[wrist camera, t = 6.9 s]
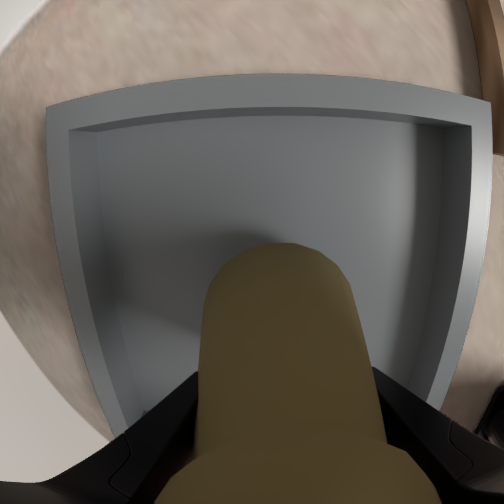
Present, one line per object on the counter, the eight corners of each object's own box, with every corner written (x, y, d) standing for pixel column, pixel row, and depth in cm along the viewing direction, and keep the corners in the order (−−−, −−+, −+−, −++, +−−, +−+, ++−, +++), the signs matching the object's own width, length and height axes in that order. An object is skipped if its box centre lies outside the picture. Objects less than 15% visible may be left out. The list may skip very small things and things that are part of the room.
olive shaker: (181, 342, 13) (85, 596, 3) (244, 213, 11) (134, 577, 1) (305, 392, 14) (332, 627, 3) (382, 284, 12) (549, 527, 2)
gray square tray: (410, 409, 17) (425, 441, 14) (133, 415, 18) (119, 447, 15) (455, 108, 12) (490, 102, 9) (81, 112, 13) (45, 107, 10)
